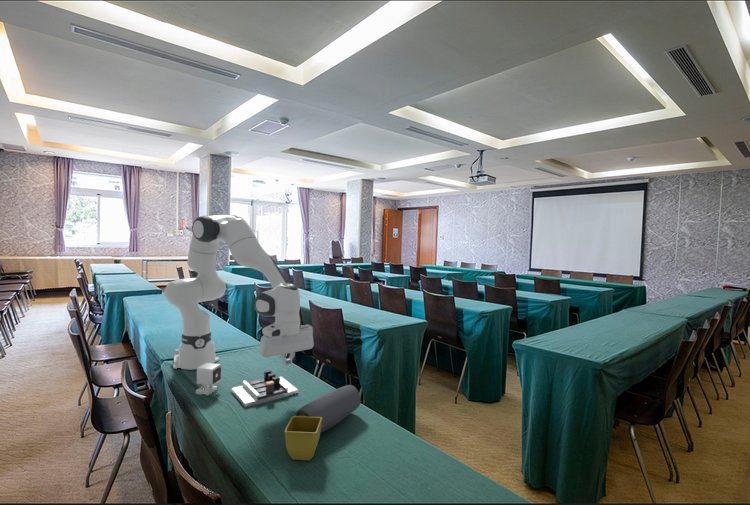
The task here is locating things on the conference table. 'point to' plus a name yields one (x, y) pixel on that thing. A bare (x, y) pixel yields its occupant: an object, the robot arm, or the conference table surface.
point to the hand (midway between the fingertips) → (287, 364)
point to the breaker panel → (263, 390)
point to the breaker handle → (269, 387)
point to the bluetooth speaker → (332, 406)
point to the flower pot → (302, 436)
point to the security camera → (208, 377)
